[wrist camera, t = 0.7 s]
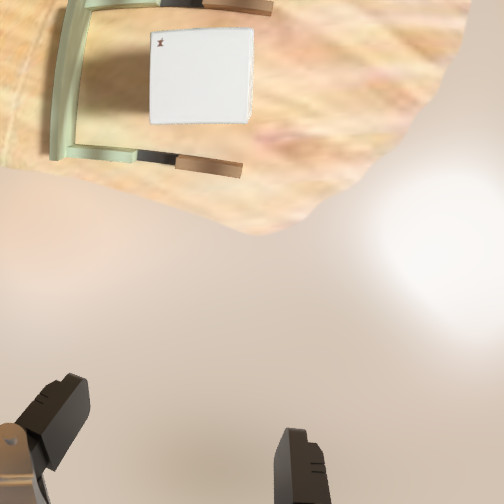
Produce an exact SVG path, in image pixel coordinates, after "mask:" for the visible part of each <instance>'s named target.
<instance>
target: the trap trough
mask: <svg viewBox="0 0 504 504" xmlns="http://www.w3.org/2000/svg"><path fill="white" fill-rule="evenodd" d="M134 7H189V8H207V9H219V10H230V11H238V12H246V13H254V14H260V15H267V16H271V14H272V9H273V2H272V1H266V0H68V4H67V8H66V13H65V17H64V22H63V27H62V32H61V37H60V42H59V48H58V55H57V61H56V68H55V76H54V85H53V95H52V107H51V122H50V153H49V160H52V161H58V160H61V159H63V158H65V157H71V158H84V159H95V160H106V161H116V162H125V163H133V162H135V161H136V160H139V161H147V162H156V163H164V164H171V165H175V169H182V170H189V171H196V172H203V173H209V174H216V175H222V176H228V177H234V178H240V177H241V172H242V167H243V164H242V163H236V162H230V161H223V160H217V159H210V158H203V157H196V156H189V155H182V154H174V153H166V152H157V151H148V150H139V149H129V148H118V147H106V146H93V145H79V144H75V132H76V117H77V105H78V95H79V86H80V77H81V70H82V63H83V56H84V50H85V44H86V39H87V33H88V28H89V23H90V19H91V14H92V11H95V10H105V9H117V8H134Z"/></svg>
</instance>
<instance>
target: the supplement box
mask: <svg viewBox="0 0 504 504" xmlns="http://www.w3.org/2000/svg"><path fill="white" fill-rule="evenodd" d="M253 38H254V30H253V29H252V28H243V27H225V28H192V29H180V30H167V31H157V32H151V33H150V99H149V106H150V108H149V111H150V124H153V125H161V124H247V123H248V120H249V118H250V116H251V114H252V96H253V73H254V42H253Z"/></svg>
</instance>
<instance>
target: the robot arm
mask: <svg viewBox="0 0 504 504" xmlns="http://www.w3.org/2000/svg"><path fill="white" fill-rule="evenodd" d="M89 412H90V398H89V390H88V382H87V380H86V379H85V378H82V377H79V376H77V375H74V374H72V373H69V374H67V375H66V377H65V378H64V379H63V380H62V381H61V382H60V381H57V380H55V381H54V382H52V383H50V384H48V385H46V386H45V387H44V388H43V390H42V391H41V392H40V394H39V395H37V397H36V398H35V400H34V401H33V402H32V403H31V404H30V405H29V406H28V407H27V408H26V410H25V411H24V412H23V413H22V415H21V416H20V417H19V418H18V419H17V421H16V422H15V423H4V424H2V425H0V504H51V503H50V499H49V496H48V492H47V488H46V484H45V480H44V477H43V471H44V470H45V468H48V469H51V470H53V471H55V470H56V469H57V467H58V465H59V464H60V462H61V460H62V459H63V457H64V455H65V454H66V452H67V450H68V449H69V447H70V445H71V444H72V442H73V441H74V439H75V437H76V436H77V434H78V432H79V431H80V429H81V428H82V426H83V424H84V423H85V421H86V420H87V418H88V416H89ZM324 464H325V462H324V456H323V452H322V451H321V449H320V448H319V446H318V445H317V443H309V442H308V440H307V433H306V430H304V429H295V428H286V429H285V431H284V434H283V436H282V438H281V440H280V443H279V445H278V447H277V450H276V453H275V457H274V504H331V498H330V492H329V486H328V480H327V474H326V467H325V465H324Z"/></svg>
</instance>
